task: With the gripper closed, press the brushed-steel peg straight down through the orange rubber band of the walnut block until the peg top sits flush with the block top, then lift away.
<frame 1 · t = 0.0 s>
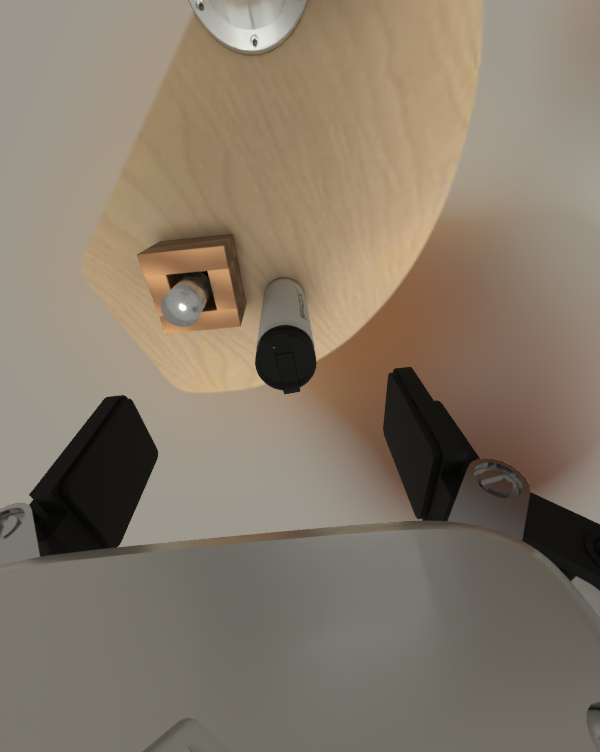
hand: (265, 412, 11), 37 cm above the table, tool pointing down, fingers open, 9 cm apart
band block: (205, 274, 44), on the table
travel mug: (284, 298, 47), on the table
peg: (189, 297, 36), point 10 cm above the table, slide at 0.0 cm
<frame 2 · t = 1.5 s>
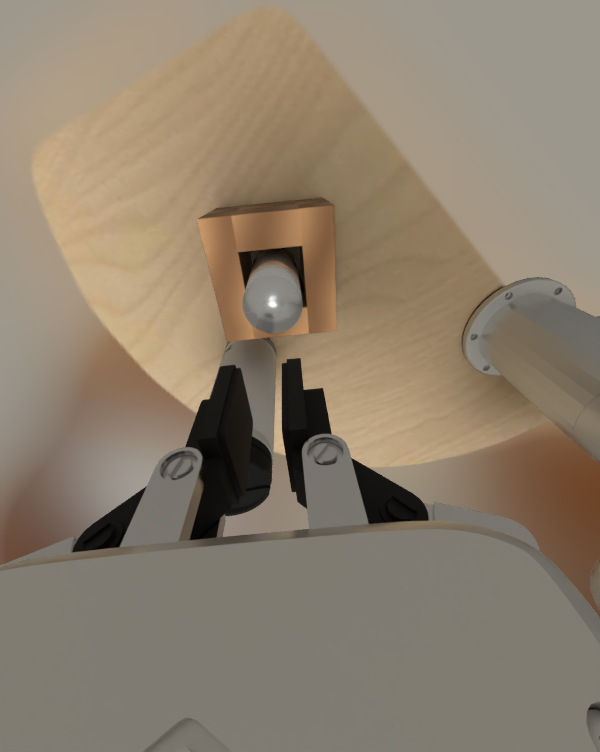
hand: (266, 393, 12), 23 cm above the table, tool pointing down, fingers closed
band block: (276, 258, 31), on the table
travel mug: (249, 353, 38), on the table
peg: (274, 287, 24), point 10 cm above the table, slide at 0.0 cm
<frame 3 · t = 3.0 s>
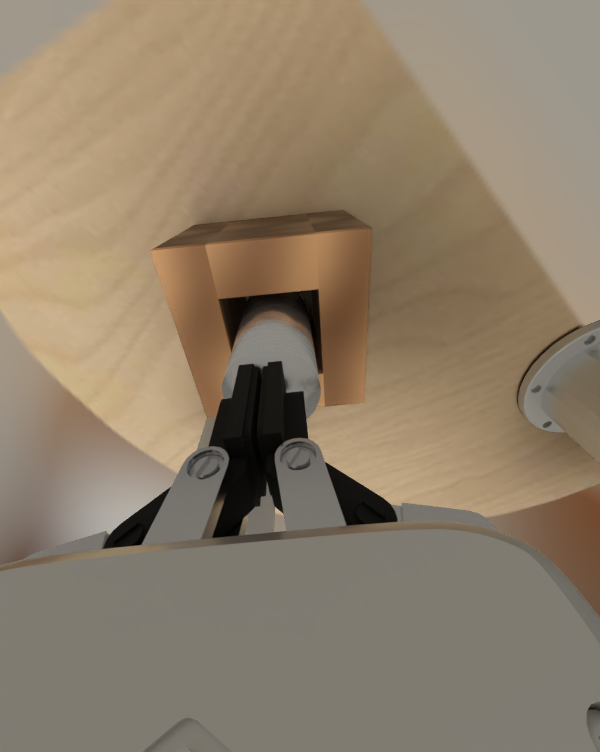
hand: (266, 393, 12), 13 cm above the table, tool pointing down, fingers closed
band block: (277, 291, 23), on the table
travel mug: (243, 406, 29), on the table
peg: (274, 346, 16), point 9 cm above the table, slide at 0.7 cm, touching gripper
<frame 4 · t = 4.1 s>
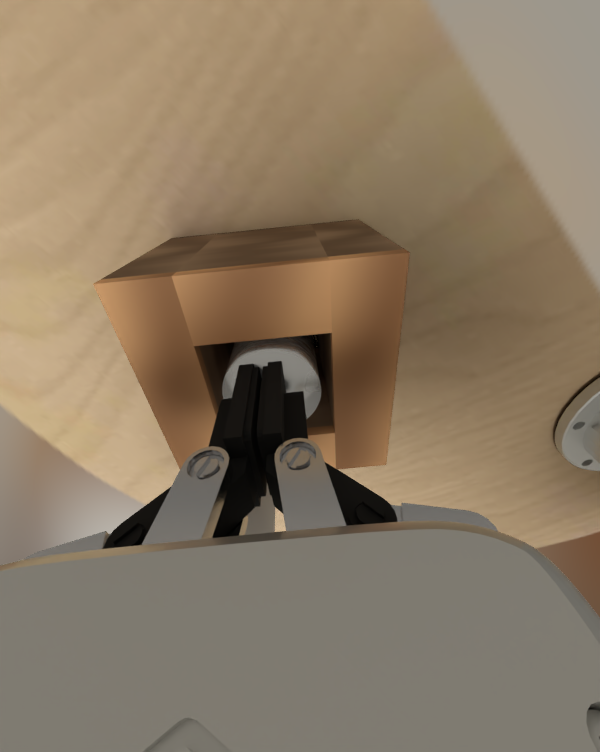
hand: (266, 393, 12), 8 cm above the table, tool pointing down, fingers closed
band block: (276, 316, 19), on the table
travel mug: (237, 444, 25), on the table
peg: (274, 347, 16), point 4 cm above the table, slide at 5.5 cm, touching gripper
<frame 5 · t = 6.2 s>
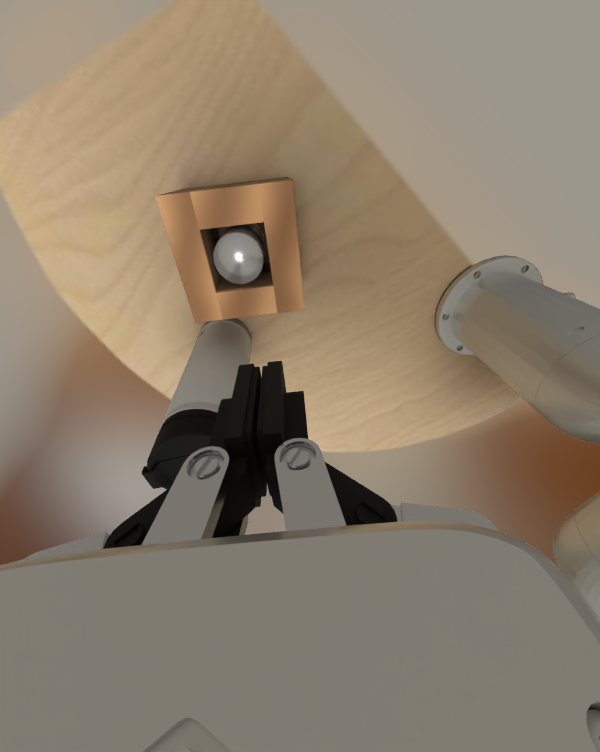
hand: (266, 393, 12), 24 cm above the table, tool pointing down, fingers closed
band block: (245, 240, 31), on the table
travel mug: (224, 339, 38), on the table
peg: (242, 248, 28), point 4 cm above the table, slide at 5.5 cm
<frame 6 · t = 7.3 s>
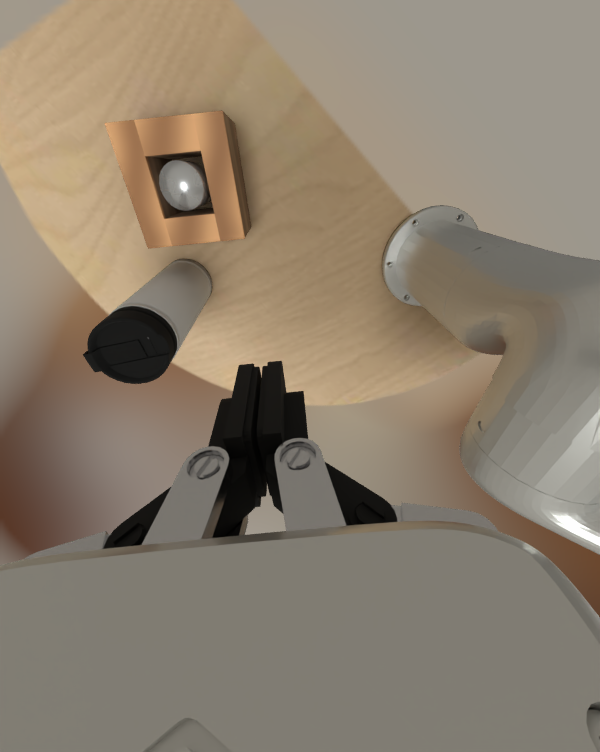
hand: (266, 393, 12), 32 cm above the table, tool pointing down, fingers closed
band block: (200, 183, 35), on the table
travel mug: (188, 282, 41), on the table
peg: (192, 184, 32), point 4 cm above the table, slide at 5.5 cm
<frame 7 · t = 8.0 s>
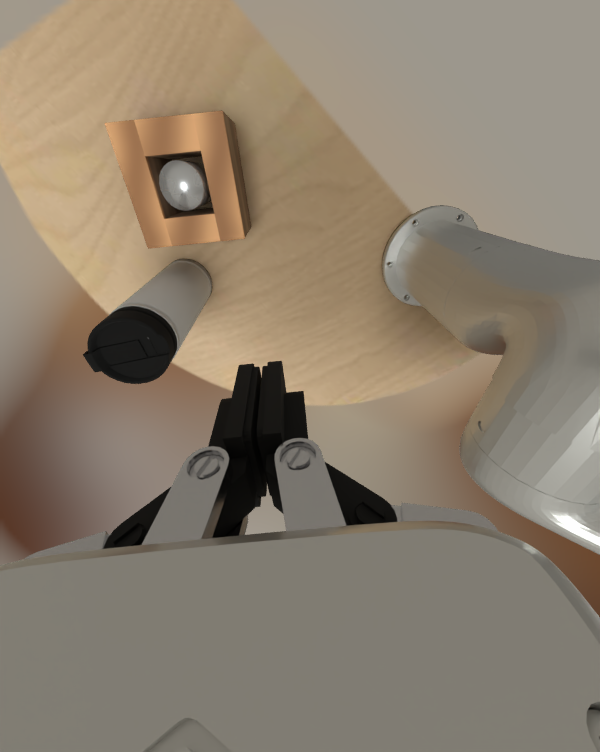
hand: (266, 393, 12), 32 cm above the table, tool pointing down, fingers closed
band block: (200, 183, 35), on the table
travel mug: (188, 282, 41), on the table
peg: (192, 184, 32), point 4 cm above the table, slide at 5.5 cm
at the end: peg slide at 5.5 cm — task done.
